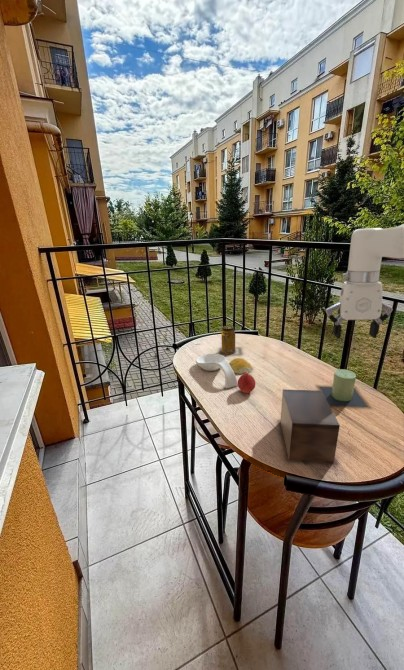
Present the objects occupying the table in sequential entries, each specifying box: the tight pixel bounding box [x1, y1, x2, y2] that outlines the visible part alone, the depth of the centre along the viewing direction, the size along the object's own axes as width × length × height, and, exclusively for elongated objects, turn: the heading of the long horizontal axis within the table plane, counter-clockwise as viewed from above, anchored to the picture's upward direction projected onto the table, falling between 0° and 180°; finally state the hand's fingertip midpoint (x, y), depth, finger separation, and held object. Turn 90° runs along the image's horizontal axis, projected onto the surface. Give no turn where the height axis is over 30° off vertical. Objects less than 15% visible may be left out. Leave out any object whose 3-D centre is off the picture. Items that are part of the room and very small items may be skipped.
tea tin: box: [331, 368, 357, 401], centre depth 87 cm, size 6×6×8 cm
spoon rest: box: [195, 353, 238, 389], centre depth 106 cm, size 24×12×7 cm, turn 24°
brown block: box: [279, 389, 341, 464], centre depth 69 cm, size 10×14×11 cm
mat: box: [319, 386, 368, 408], centre depth 89 cm, size 11×11×1 cm
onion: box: [237, 372, 256, 394], centre depth 92 cm, size 6×6×8 cm
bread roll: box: [228, 357, 252, 375], centre depth 109 cm, size 8×9×4 cm
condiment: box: [221, 325, 236, 355], centre depth 123 cm, size 7×8×12 cm
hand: (354, 336), depth 81 cm, fingers open, 9 cm apart
